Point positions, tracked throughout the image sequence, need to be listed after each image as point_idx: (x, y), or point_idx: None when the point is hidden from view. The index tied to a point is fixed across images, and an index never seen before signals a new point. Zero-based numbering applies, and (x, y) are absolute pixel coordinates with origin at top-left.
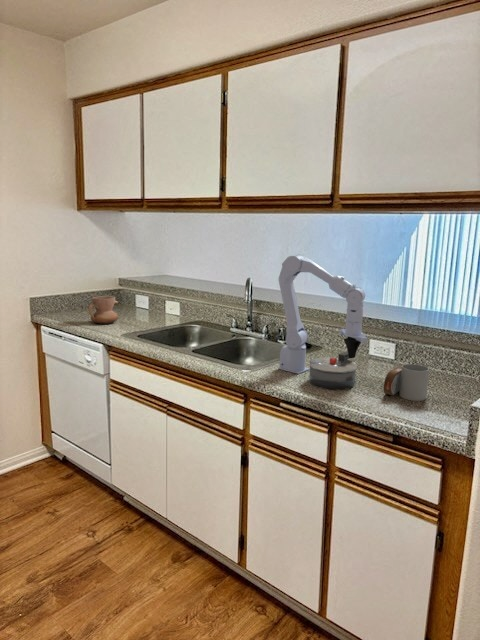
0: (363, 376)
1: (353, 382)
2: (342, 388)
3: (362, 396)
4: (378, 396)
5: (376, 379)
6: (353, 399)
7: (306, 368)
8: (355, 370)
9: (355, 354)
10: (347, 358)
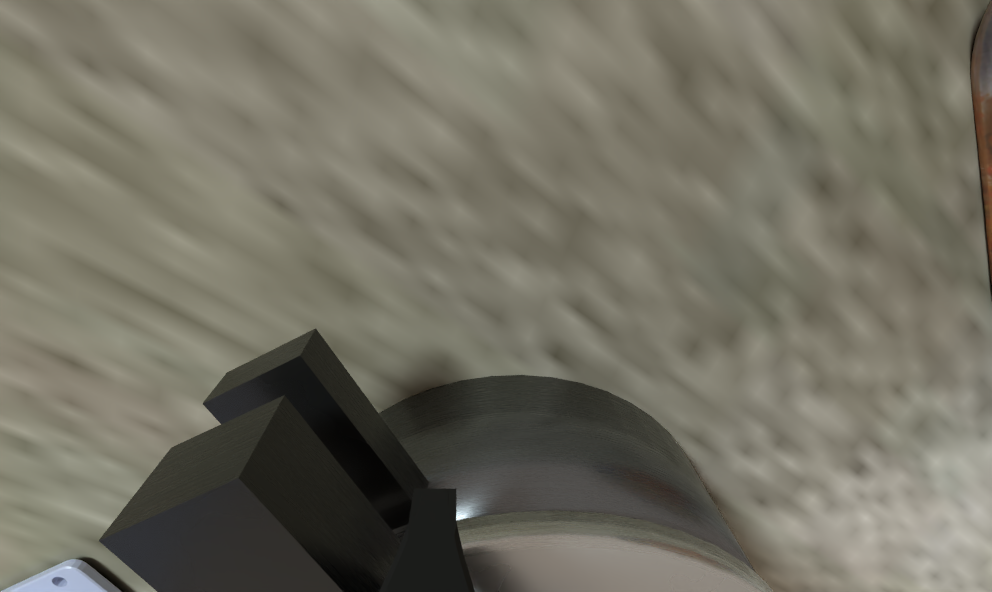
0: (440, 144)
1: (703, 486)
2: None
3: (883, 500)
4: (973, 395)
5: (610, 54)
6: (879, 576)
7: (74, 589)
8: (738, 558)
9: (454, 533)
10: None
